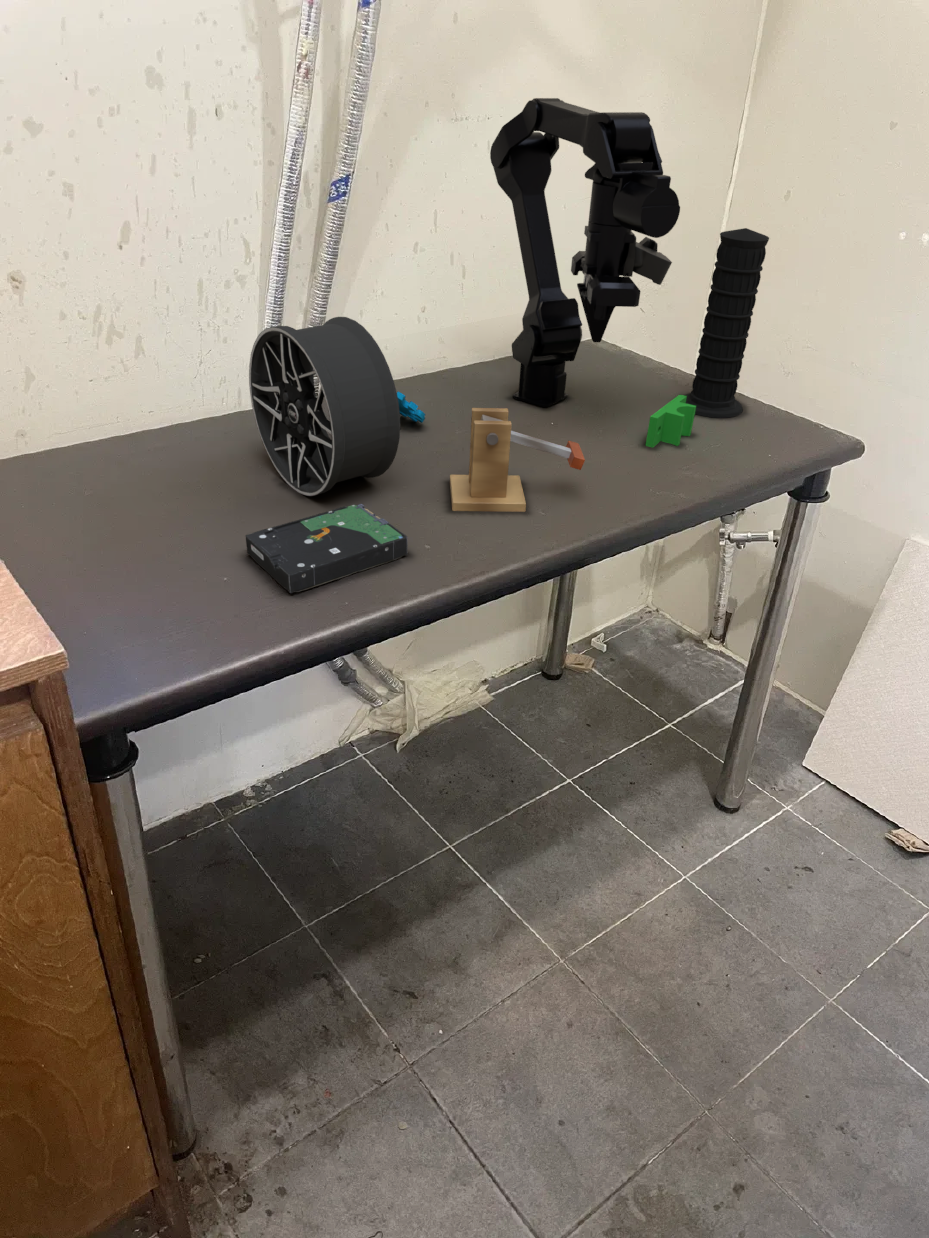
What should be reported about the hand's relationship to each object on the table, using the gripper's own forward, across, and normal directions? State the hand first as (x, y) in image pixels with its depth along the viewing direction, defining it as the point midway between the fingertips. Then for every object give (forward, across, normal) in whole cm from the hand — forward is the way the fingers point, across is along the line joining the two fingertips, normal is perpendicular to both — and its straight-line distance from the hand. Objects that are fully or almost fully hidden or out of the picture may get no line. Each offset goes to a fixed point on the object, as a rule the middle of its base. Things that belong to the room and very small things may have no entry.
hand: (596, 341), depth 128 cm
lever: (+7, -23, +12) cm, 26 cm away
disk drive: (+13, -38, +35) cm, 53 cm away
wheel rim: (+13, -19, +37) cm, 43 cm away
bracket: (+13, -23, +16) cm, 31 cm away
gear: (+13, 0, +28) cm, 31 cm away
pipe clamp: (+13, -2, -12) cm, 18 cm away
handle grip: (+13, +11, -22) cm, 28 cm away
